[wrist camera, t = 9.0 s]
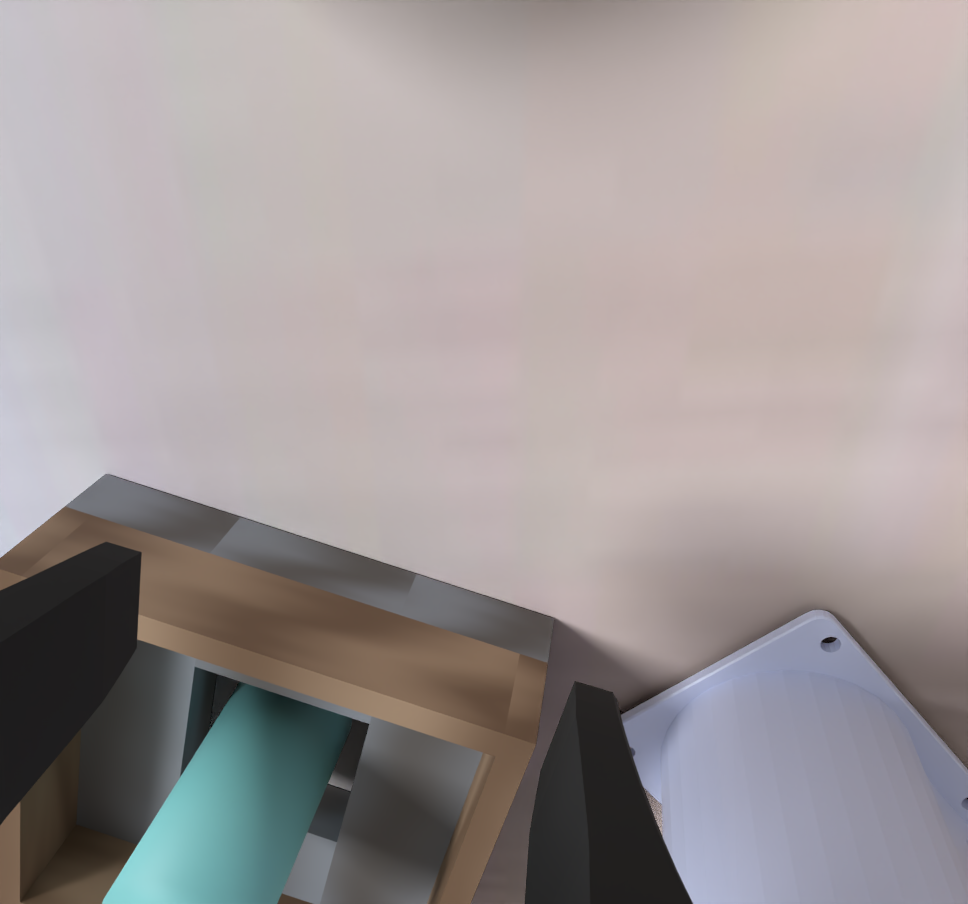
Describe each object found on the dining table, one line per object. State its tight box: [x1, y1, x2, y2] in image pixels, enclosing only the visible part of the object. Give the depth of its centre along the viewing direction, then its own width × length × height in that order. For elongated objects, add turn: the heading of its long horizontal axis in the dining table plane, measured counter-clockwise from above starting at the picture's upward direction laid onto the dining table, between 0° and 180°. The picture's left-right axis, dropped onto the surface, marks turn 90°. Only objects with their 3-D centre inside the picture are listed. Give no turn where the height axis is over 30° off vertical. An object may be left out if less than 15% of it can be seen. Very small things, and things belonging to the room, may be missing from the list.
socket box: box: [0, 474, 554, 904], centre depth 26 cm, size 14×14×5 cm
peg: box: [102, 682, 352, 904], centre depth 24 cm, size 4×4×8 cm
